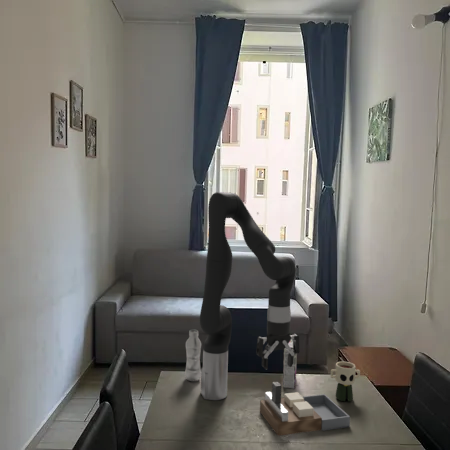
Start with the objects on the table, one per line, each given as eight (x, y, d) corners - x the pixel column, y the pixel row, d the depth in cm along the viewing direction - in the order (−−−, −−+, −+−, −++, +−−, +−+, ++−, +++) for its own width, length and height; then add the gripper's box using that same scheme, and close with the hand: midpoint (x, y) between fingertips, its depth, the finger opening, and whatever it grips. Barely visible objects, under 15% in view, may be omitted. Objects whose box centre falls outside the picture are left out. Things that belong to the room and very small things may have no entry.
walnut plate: (277, 435, 142) (278, 423, 142) (259, 411, 157) (260, 400, 157) (321, 429, 146) (321, 417, 146) (299, 407, 161) (300, 396, 161)
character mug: (332, 403, 165) (333, 368, 164) (327, 394, 172) (328, 361, 171) (361, 403, 165) (363, 368, 164) (355, 395, 172) (357, 361, 171)
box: (322, 430, 146) (322, 420, 145) (299, 406, 162) (299, 396, 162) (349, 427, 148) (350, 416, 148) (324, 403, 165) (324, 394, 164)
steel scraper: (282, 422, 142) (283, 394, 142) (264, 400, 157) (265, 375, 156) (288, 421, 143) (289, 393, 142) (270, 400, 157) (271, 374, 157)
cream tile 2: (299, 417, 146) (299, 409, 146) (292, 410, 150) (292, 402, 150) (313, 415, 147) (313, 408, 147) (306, 408, 152) (306, 401, 152)
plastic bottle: (188, 384, 178) (189, 334, 176) (182, 378, 184) (183, 329, 182) (203, 381, 181) (204, 332, 179) (196, 375, 187) (197, 327, 185)
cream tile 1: (290, 407, 152) (290, 400, 152) (284, 400, 157) (284, 393, 157) (303, 405, 154) (303, 398, 154) (297, 399, 159) (297, 392, 158)
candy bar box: (284, 376, 188) (285, 337, 187) (296, 378, 187) (297, 338, 186) (281, 387, 177) (283, 346, 176) (294, 389, 176) (296, 347, 175)
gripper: (294, 314, 153) (292, 361, 154) (254, 316, 149) (253, 365, 150) (304, 320, 146) (302, 369, 147) (262, 323, 142) (261, 373, 143)
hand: (277, 367), depth 149 cm, fingers open, 8 cm apart
